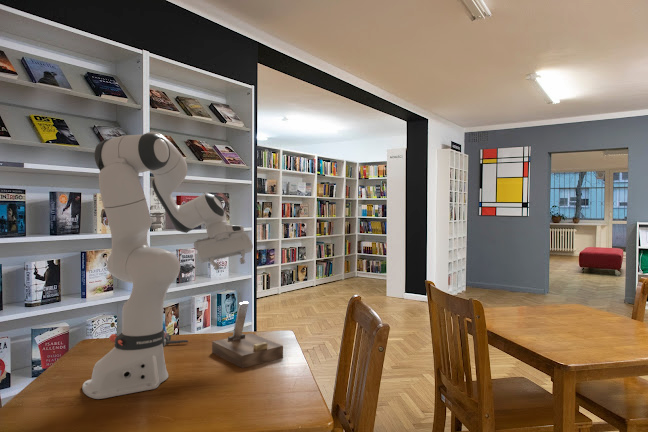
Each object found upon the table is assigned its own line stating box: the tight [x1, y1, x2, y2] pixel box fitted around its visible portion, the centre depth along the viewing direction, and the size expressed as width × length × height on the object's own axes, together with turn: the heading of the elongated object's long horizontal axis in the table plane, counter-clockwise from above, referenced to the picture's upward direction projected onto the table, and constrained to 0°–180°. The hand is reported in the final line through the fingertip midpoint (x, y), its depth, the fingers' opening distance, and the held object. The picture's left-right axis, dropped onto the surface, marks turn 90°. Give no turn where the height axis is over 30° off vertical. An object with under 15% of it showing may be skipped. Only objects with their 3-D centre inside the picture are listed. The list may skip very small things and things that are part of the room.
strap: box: [231, 301, 249, 339], centre depth 154 cm, size 3×14×1 cm
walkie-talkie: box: [164, 330, 189, 347], centre depth 163 cm, size 9×4×20 cm
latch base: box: [211, 332, 284, 369], centre depth 150 cm, size 16×20×6 cm
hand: (230, 265), depth 158 cm, fingers open, 8 cm apart
